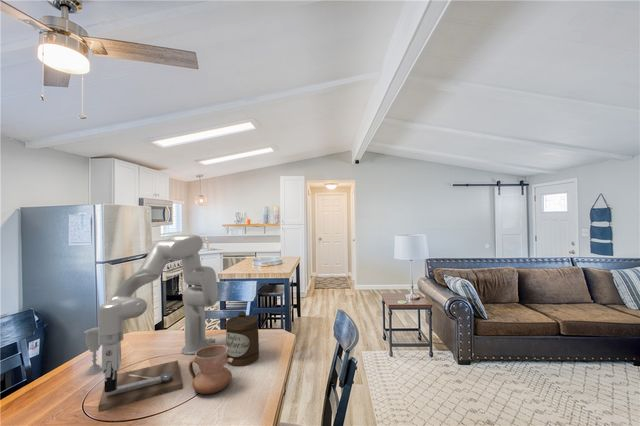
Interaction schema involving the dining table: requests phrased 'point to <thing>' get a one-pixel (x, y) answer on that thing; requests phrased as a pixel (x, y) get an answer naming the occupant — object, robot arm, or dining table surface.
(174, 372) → the lever board
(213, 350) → the ceramic jug
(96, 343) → the chalice
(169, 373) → the lever
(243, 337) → the wooden container
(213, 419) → the dining table surface
